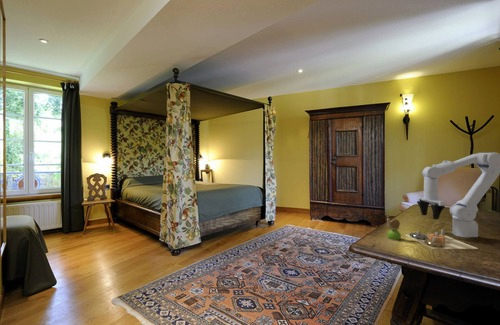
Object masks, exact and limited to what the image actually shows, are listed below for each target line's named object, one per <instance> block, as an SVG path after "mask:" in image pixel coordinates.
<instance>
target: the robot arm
mask: <svg viewBox="0 0 500 325" xmlns="http://www.w3.org/2000/svg"><path fill="white" fill-rule="evenodd" d="M472 164H475V166H477V167H478V169H480V171H481V174H480V176H478V178H477V180H476V181H475V182H474V183H473V185H472V186H471V188H470V189H468V190H469V191H468V192H467V193H466V194H465V196H464V197H463V198H462V199H460V200H458V201H456V203H455V204H452V205H451V206H450V207H449V213H450V215H451V216H452V228H451V230H452V231H451V234H452V235H453V236H456V237H462V238H478V237H479V224H478V222H476V220H475V219H476V217H477V213H478V211H479V208H478V206H477V205H478V204H479V202H481V200H482V198H483V197H484V196H485V194H487V192H488V191H489V189H490V188H491V187H492V185H493V184H494V182H495V181H496V180H497V179H498V177H499V176H500V153H499V152H494V151H493V152H476V153H472V154H470V155H467V156H465V157H463V158H462V157H461V158H460V159H457V160H454V161H450V160H443V161H442V162H440V163H438V164H437V163H436V164H435V163H434V164H432V166H425V167H424V169H423V170H422V171H421V175H422V176H423V196H417V200H418V201H417V202H416V204H417V205H418V207H419V210H420V213H421V216H427V215H428V210H429V209H428V208H429V205H430V207H431V209H432V210H431V211H432V218H433V220H439V218H440V215H441V213H442V212H443V210H444V209H445V208H446V206H445V201H442V200H440V199H439V198H438V195H439V178H440V177H441V176H444V175H447V174H450V173H454V172H456V169H457V168H461V167H464V166H468V165H472Z"/></svg>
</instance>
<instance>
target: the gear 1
mask: <svg viewBox="0 0 500 325" xmlns="http://www.w3.org/2000/svg"><path fill="white" fill-rule="evenodd" d="M409 235H410V236H411V237H412V238H415V239H420V240H426V239H428V236H426V235H427V234H423V233H421V232H420V235H417V232H410V233H409ZM412 238H411V239H412Z"/></svg>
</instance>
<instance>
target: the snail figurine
mask: <svg viewBox="0 0 500 325" xmlns="http://www.w3.org/2000/svg"><path fill="white" fill-rule="evenodd" d="M389 217H390V216H389V215H386V222H387V227H388V228H389V229H390V230H388V231H387V238H388V239H390V240H393V241H399V240H401V237H402V236H401V233H400V231H399V229H400V225H401V223H400V221H399V220H398V219H395V218H394V219H392V220H391V219H390V218H389Z"/></svg>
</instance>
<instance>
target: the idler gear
mask: <svg viewBox="0 0 500 325" xmlns="http://www.w3.org/2000/svg"><path fill="white" fill-rule="evenodd" d="M428 235H429V240H430V239H432V238H433V237H434V238H437V239H436V240H438V241H440V242H443V243H445V237H444V236H443V235H441V234H439V237H437V236H435V233H429V234H428Z"/></svg>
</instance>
